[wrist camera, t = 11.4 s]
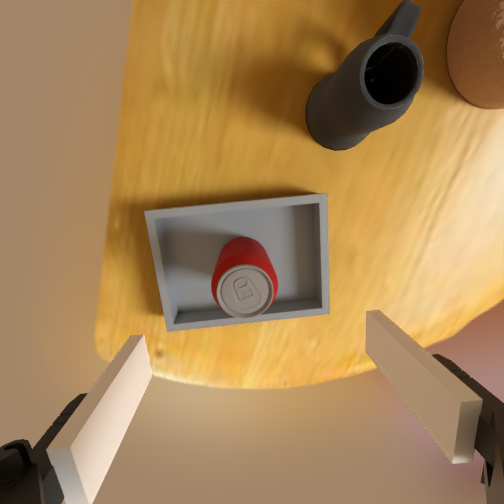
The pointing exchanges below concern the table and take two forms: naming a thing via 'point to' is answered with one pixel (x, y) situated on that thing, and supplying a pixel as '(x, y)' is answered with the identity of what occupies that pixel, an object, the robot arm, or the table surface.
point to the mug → (368, 84)
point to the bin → (233, 226)
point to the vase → (478, 52)
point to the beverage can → (244, 279)
